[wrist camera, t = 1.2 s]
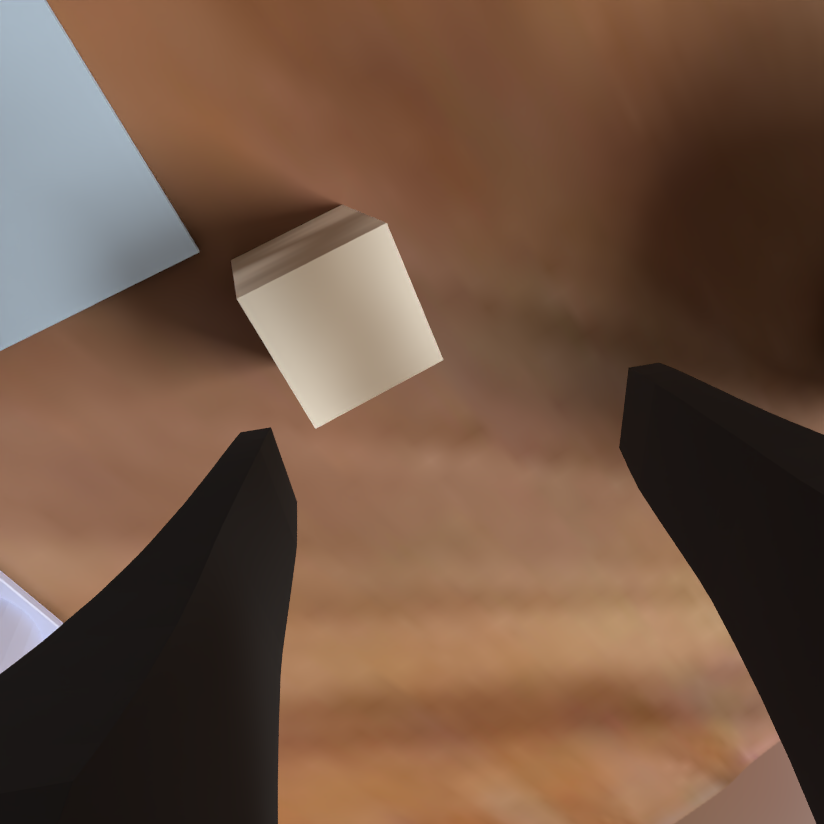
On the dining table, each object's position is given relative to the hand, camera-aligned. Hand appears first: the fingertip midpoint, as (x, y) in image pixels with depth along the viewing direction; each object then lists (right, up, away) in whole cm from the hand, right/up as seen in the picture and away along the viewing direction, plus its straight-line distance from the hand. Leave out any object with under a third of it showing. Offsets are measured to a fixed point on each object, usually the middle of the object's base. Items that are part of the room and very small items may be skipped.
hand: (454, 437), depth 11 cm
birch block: (-5, +5, +10) cm, 12 cm away
